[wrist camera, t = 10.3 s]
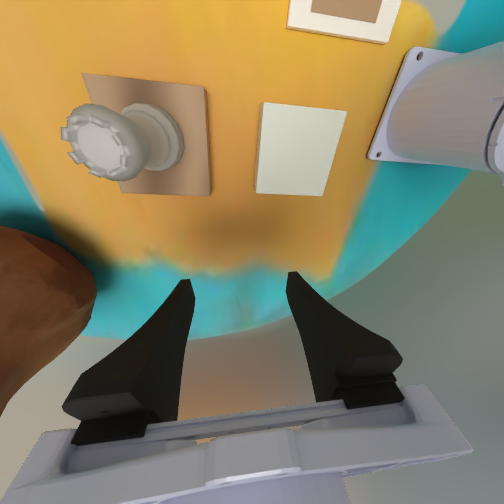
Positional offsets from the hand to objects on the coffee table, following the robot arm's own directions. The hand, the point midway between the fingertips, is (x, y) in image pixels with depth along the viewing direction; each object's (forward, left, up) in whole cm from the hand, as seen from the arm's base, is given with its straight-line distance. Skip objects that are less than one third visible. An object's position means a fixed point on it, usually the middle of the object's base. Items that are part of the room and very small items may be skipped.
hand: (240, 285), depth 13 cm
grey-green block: (-5, -8, -10) cm, 14 cm away
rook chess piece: (+7, -8, -9) cm, 14 cm away
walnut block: (+7, -8, -10) cm, 15 cm away
